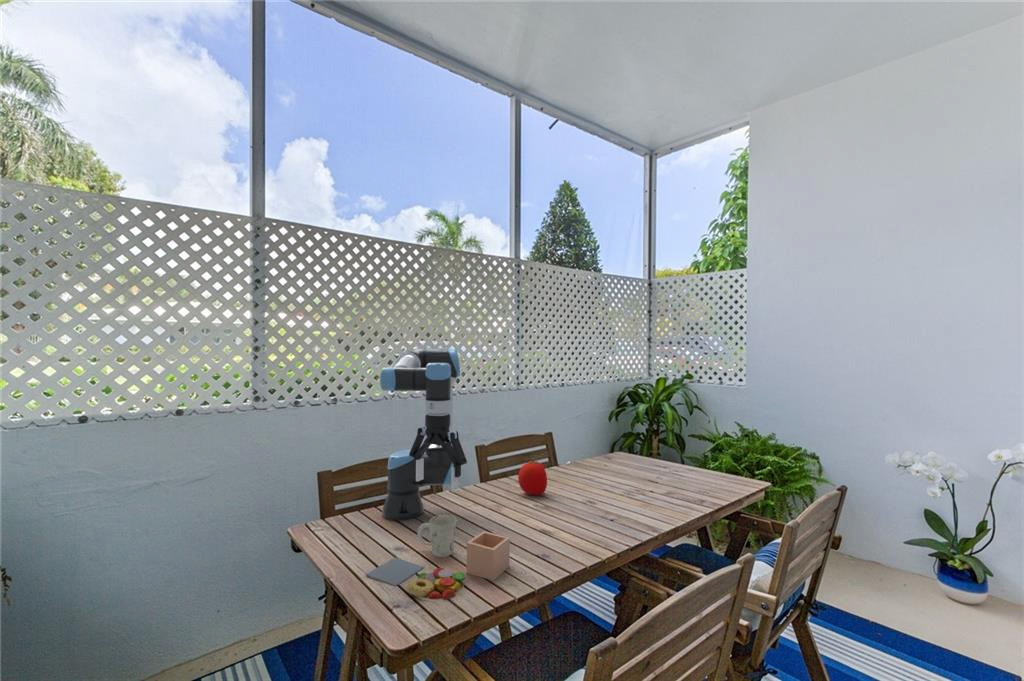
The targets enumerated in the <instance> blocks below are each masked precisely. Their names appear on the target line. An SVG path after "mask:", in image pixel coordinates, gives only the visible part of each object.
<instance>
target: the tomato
mask: <svg viewBox="0 0 1024 681" xmlns="http://www.w3.org/2000/svg"><path fill="white" fill-rule="evenodd" d="M517 476H518V478H517V480H518V484H519V487H520V489H521V490H522V491H523V492H524V493H526V494H528V495H531V496H541V495H543V494H544V493H545V492H546V490H547V486H548V476H547V471H546V469H545V466H544V464H543V463H541V462H540V461H535V460H532V461H531V460H529V461H528V462H526V463H524V464H523V465H522V466H521V467H520V469H519V472H518V475H517Z"/></svg>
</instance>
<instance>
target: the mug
mask: <svg viewBox="0 0 1024 681" xmlns="http://www.w3.org/2000/svg"><path fill="white" fill-rule="evenodd" d="M457 523H458V519H457V517H455V516H454V515H450V514H439V515H435V516H432V517H430V519H429V520H428V522H424V523H421V525H420V526H419V527H418V528H417V533H416V535H417V538H418V540H419V542H421V544H422V545H424V546H426V547H427V546H429V547H431V551H432V552H431V553H432V555H433V556H434V557H438V558H445V557H448V556H450V555H452V554H453V553H454V552H453V551H454V545H455V540H456V538H455V537H456V533H457V532H456V530H457V526H458V525H457ZM425 528H427V529H428V528H429V534H430V535H429V536H430V542H427V541H426V540H425V539H424V538H423V535H422V531H423V529H425Z"/></svg>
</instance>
